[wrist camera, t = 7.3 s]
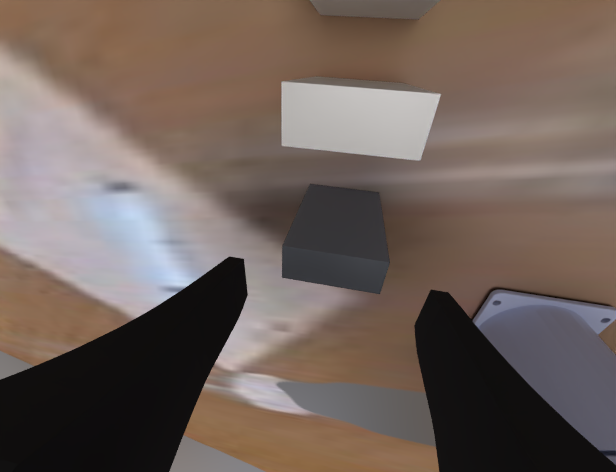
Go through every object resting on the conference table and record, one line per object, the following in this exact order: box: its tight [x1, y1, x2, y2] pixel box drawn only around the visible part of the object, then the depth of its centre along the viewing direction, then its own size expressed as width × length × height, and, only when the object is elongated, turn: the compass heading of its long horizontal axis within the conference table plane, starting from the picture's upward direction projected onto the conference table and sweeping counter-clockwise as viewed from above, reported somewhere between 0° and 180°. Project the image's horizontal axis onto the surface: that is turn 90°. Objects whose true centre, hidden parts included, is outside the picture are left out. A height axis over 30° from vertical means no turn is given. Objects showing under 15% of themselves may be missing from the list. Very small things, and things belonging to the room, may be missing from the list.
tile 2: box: [282, 76, 441, 161], centre depth 10 cm, size 2×4×7 cm, turn 87°
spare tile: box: [282, 184, 390, 294], centre depth 14 cm, size 2×4×7 cm, turn 86°
